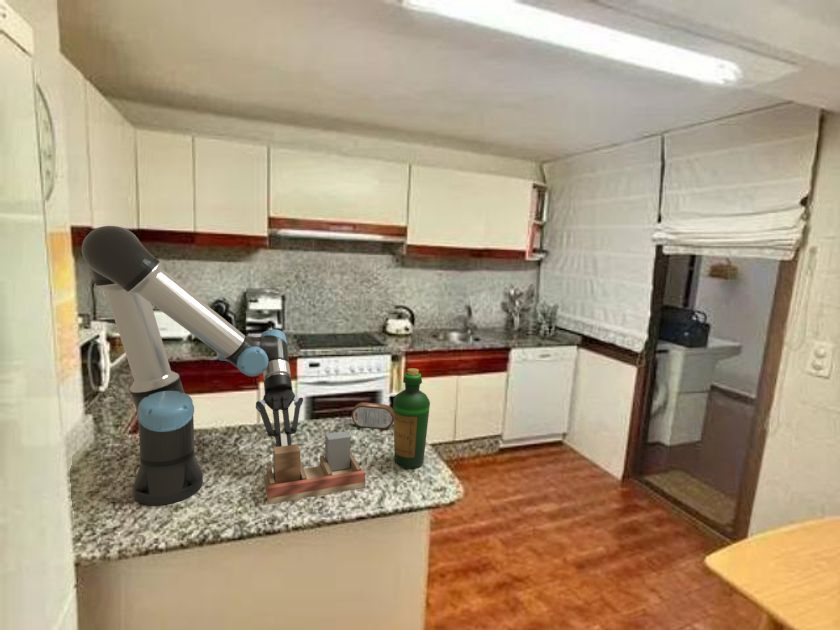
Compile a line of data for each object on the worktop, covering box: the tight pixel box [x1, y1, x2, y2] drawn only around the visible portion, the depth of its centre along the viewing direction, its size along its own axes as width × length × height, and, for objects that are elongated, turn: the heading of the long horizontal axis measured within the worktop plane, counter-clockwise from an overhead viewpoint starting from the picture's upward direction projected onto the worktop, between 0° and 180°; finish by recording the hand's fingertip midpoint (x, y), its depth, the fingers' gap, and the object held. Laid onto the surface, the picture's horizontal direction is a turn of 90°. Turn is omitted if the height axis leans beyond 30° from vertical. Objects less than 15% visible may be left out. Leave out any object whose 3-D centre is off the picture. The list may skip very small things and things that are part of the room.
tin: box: [351, 401, 394, 430], centre depth 156 cm, size 15×3×8 cm, turn 84°
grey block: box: [324, 430, 352, 471], centre depth 123 cm, size 6×5×9 cm
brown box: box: [272, 443, 301, 484], centre depth 114 cm, size 6×5×9 cm
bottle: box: [393, 367, 431, 469], centre depth 130 cm, size 11×11×28 cm
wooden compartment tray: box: [263, 451, 366, 505], centre depth 117 cm, size 24×12×4 cm, turn 114°
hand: (285, 459), depth 117 cm, fingers closed
